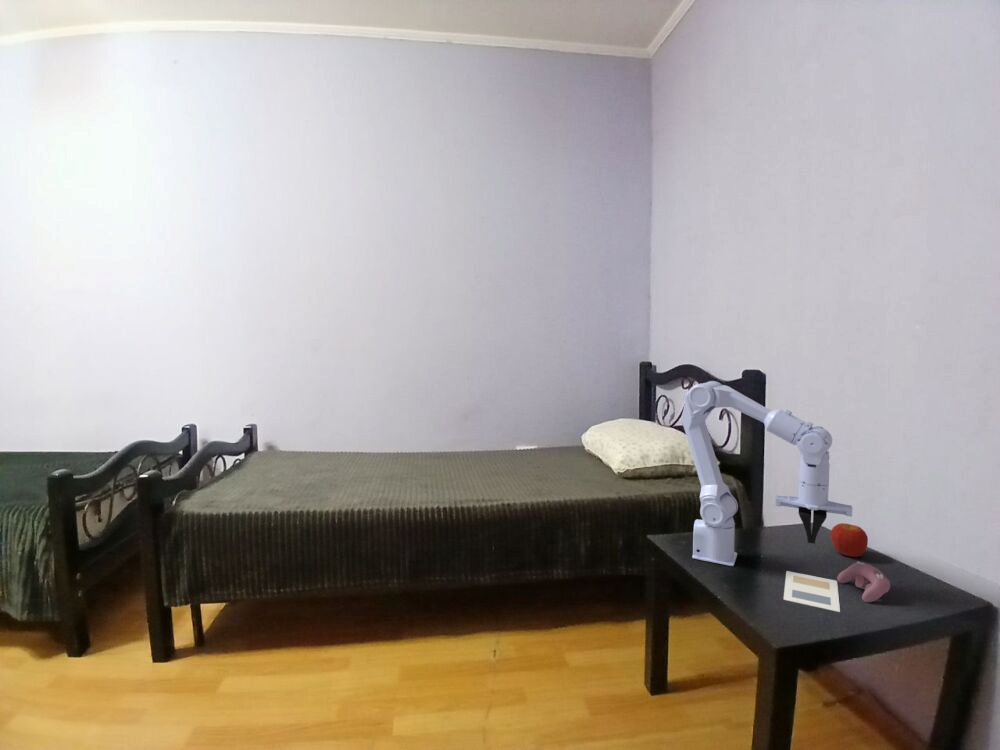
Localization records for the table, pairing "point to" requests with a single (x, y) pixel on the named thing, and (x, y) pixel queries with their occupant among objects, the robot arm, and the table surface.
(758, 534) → the table surface
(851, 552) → the apple
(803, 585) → the label card
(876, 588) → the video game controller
